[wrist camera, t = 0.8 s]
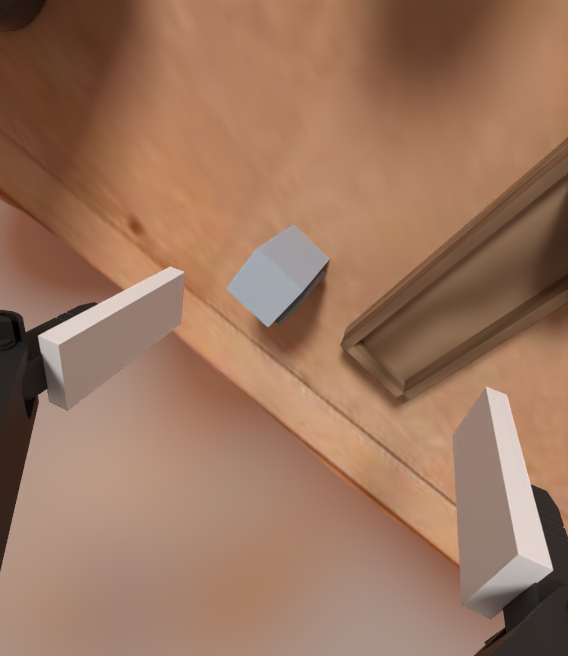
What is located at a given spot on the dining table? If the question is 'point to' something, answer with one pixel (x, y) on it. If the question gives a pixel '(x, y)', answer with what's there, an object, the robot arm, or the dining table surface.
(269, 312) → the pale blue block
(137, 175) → the dining table surface
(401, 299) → the rail
